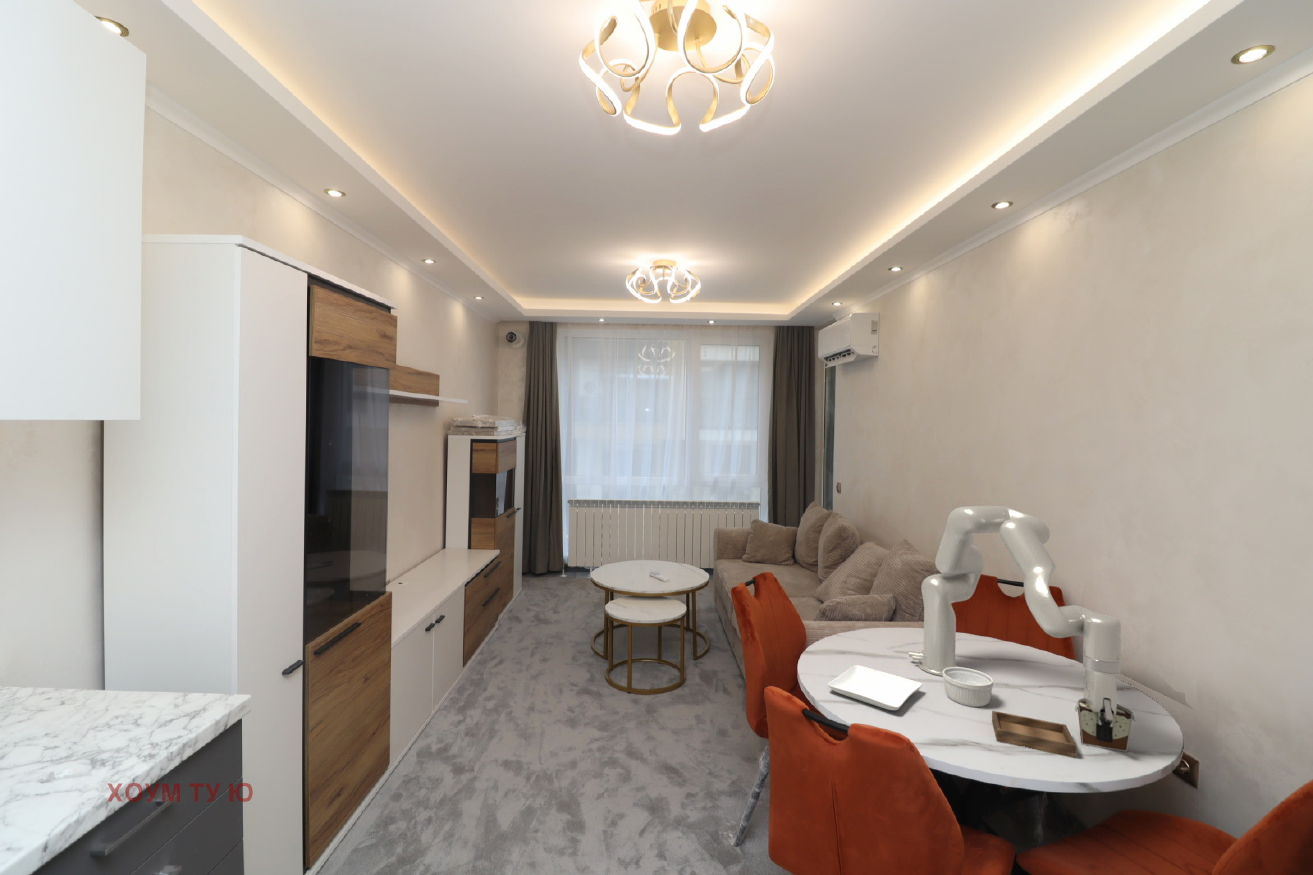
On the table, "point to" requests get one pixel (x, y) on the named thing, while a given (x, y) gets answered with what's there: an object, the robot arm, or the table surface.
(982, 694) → the ramekin
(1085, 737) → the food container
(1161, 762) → the table surface
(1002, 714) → the tray
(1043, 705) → the table surface
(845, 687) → the salad plate
